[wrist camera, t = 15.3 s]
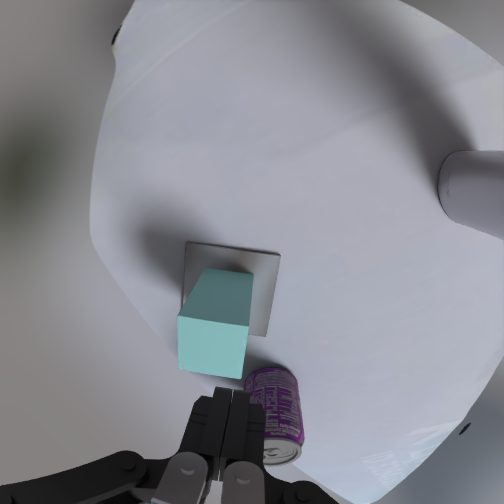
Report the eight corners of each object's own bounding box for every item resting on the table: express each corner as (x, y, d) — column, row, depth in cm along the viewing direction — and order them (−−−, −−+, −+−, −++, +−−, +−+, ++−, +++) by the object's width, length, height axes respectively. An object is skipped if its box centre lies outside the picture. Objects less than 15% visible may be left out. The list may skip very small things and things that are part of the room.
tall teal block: (253, 274, 29) (248, 326, 19) (248, 316, 31) (241, 379, 20) (205, 267, 29) (177, 315, 19) (202, 310, 31) (178, 368, 20)
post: (280, 254, 29) (287, 292, 20) (265, 334, 32) (266, 389, 23) (187, 242, 29) (155, 272, 20) (183, 322, 32) (158, 371, 23)
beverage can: (256, 404, 35) (253, 471, 24) (236, 372, 34) (226, 444, 22) (303, 391, 34) (313, 460, 23) (287, 357, 33) (294, 430, 21)
